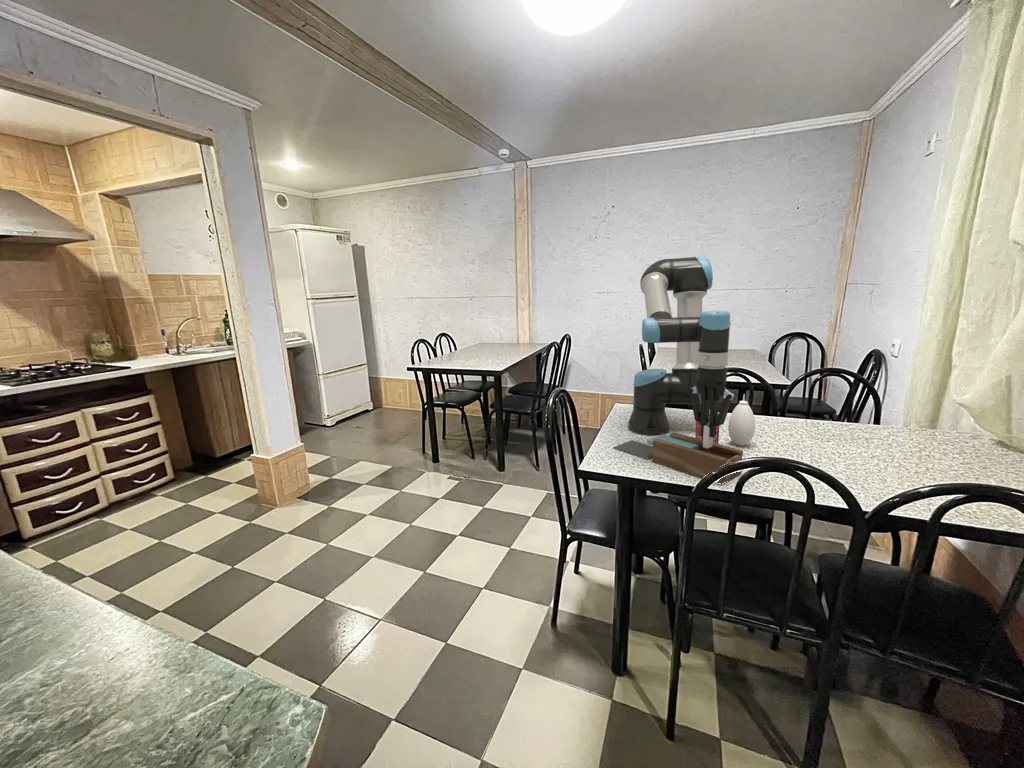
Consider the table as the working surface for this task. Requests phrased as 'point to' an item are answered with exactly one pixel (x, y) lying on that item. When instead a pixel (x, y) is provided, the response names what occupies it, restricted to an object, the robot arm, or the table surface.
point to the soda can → (699, 436)
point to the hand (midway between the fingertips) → (707, 446)
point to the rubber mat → (636, 449)
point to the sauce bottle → (741, 424)
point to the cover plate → (674, 441)
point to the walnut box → (695, 457)
